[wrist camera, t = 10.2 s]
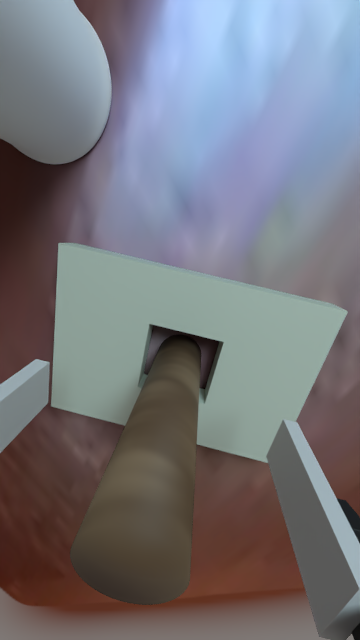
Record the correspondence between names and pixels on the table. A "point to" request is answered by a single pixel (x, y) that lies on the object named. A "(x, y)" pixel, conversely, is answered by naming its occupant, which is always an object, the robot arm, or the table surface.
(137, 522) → the peg
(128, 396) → the socket board
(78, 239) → the table surface
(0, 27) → the mug
